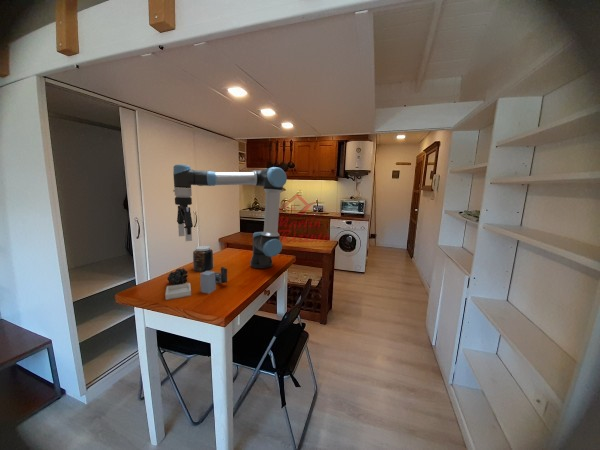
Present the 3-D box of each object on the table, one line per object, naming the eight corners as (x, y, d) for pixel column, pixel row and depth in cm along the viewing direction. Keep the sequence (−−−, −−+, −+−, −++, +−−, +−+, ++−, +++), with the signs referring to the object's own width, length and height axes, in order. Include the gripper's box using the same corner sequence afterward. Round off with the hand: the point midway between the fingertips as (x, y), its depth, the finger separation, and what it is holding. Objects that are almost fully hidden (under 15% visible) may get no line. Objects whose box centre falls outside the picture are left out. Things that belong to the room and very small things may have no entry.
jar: (208, 273, 139) (208, 250, 137) (190, 272, 140) (189, 249, 137) (216, 267, 151) (215, 245, 149) (199, 266, 151) (198, 245, 149)
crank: (211, 278, 125) (211, 264, 124) (218, 276, 128) (218, 262, 127) (222, 285, 117) (222, 269, 116) (229, 283, 120) (229, 268, 119)
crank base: (220, 280, 129) (220, 272, 129) (222, 283, 125) (221, 275, 124) (203, 282, 125) (202, 274, 124) (204, 286, 120) (203, 277, 120)
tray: (190, 287, 119) (190, 282, 119) (191, 295, 110) (190, 290, 109) (166, 290, 114) (166, 286, 114) (165, 300, 105) (165, 295, 104)
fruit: (178, 288, 126) (192, 281, 118) (162, 291, 119) (176, 283, 111) (175, 273, 128) (189, 265, 120) (160, 275, 121) (173, 267, 114)
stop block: (207, 288, 118) (207, 270, 117) (215, 290, 117) (215, 271, 115) (200, 292, 113) (200, 273, 112) (209, 294, 112) (208, 275, 110)
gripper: (169, 195, 118) (171, 235, 121) (181, 197, 99) (183, 244, 102) (184, 195, 123) (186, 233, 126) (198, 197, 104) (200, 242, 107)
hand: (185, 238), depth 114 cm, fingers open, 13 cm apart
